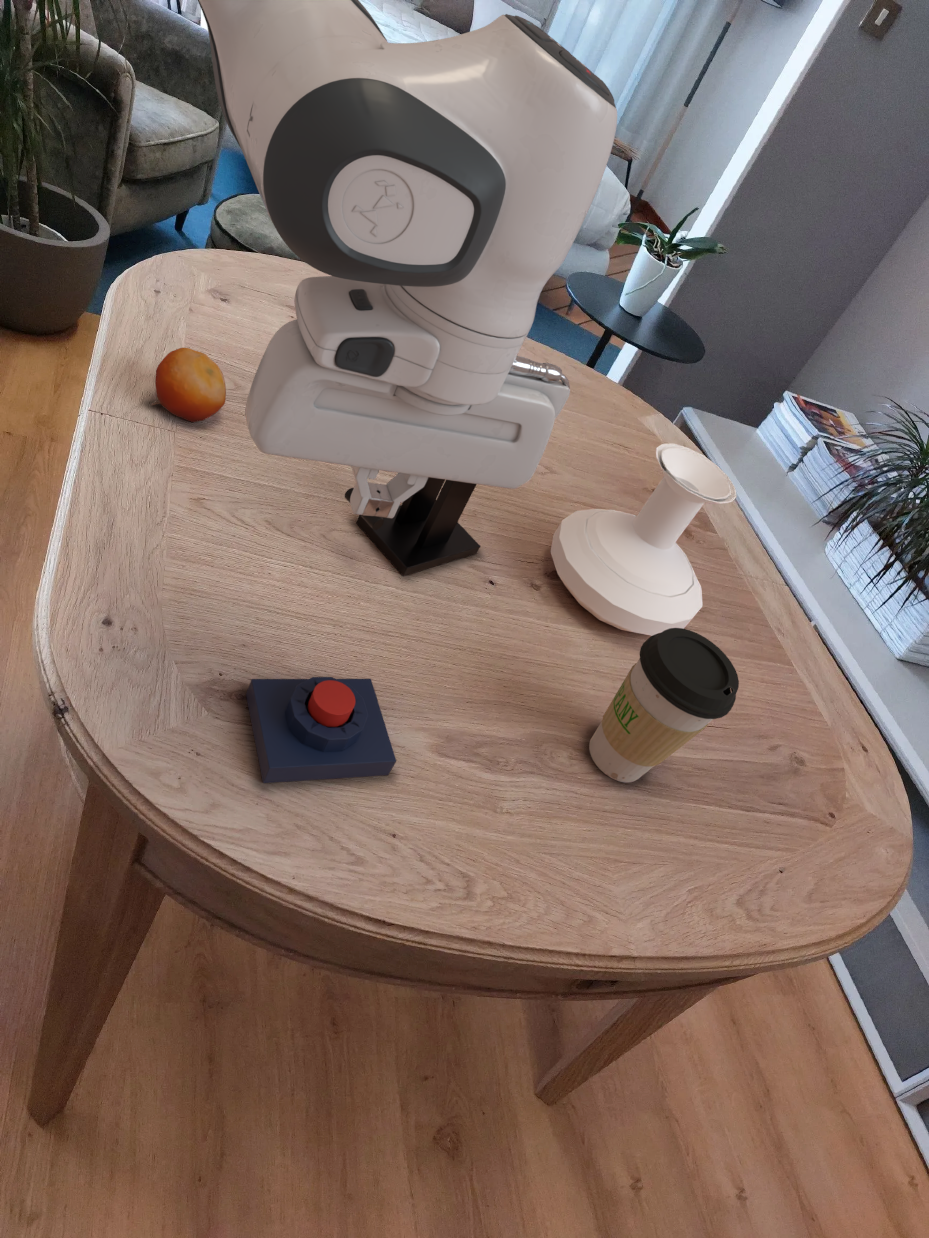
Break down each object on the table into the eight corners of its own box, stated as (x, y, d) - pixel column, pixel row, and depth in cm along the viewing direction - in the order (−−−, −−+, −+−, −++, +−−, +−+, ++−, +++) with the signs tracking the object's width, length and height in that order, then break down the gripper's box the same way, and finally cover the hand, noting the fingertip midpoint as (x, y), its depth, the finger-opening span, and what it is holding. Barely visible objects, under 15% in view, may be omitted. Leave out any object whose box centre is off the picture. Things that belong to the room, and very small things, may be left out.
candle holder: (581, 654, 95) (674, 527, 83) (515, 533, 106) (587, 407, 94) (707, 651, 105) (806, 539, 93) (634, 542, 117) (713, 429, 104)
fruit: (153, 363, 98) (197, 326, 95) (202, 416, 102) (247, 382, 98) (123, 394, 92) (169, 355, 89) (176, 448, 96) (223, 413, 92)
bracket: (403, 576, 92) (457, 462, 82) (355, 522, 95) (402, 407, 85) (476, 554, 100) (534, 448, 90) (430, 505, 103) (481, 397, 93)
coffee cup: (608, 704, 91) (684, 610, 81) (674, 772, 87) (762, 682, 78) (554, 739, 84) (631, 641, 74) (624, 814, 80) (714, 721, 71)
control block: (262, 783, 67) (274, 755, 65) (245, 694, 73) (256, 665, 70) (388, 775, 73) (403, 748, 70) (363, 693, 78) (377, 665, 76)
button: (312, 728, 68) (318, 715, 67) (303, 693, 71) (309, 680, 69) (353, 726, 70) (359, 714, 69) (344, 692, 72) (350, 679, 71)
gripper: (563, 346, 58) (481, 498, 67) (272, 272, 48) (221, 463, 56) (599, 399, 54) (508, 553, 63) (292, 331, 44) (234, 526, 53)
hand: (370, 510), depth 60 cm, fingers closed
